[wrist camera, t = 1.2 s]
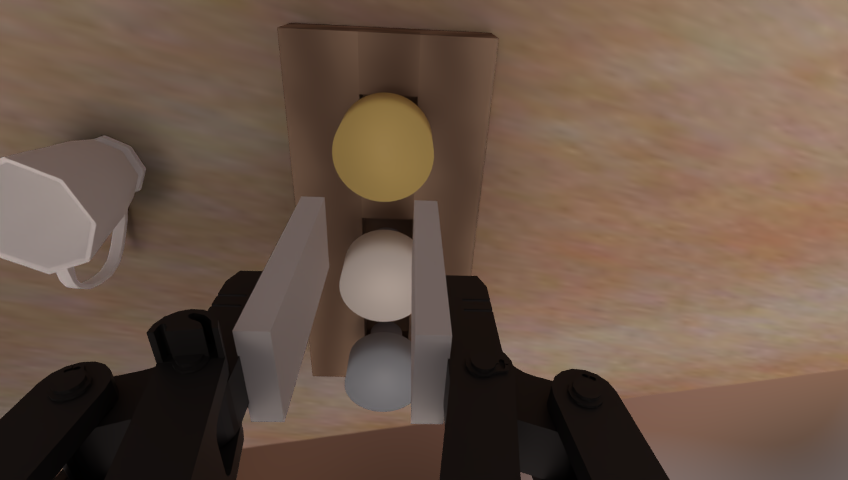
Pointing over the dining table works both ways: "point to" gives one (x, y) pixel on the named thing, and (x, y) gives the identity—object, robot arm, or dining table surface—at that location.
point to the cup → (68, 206)
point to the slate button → (380, 369)
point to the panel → (451, 133)
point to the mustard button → (383, 147)
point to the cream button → (378, 275)
